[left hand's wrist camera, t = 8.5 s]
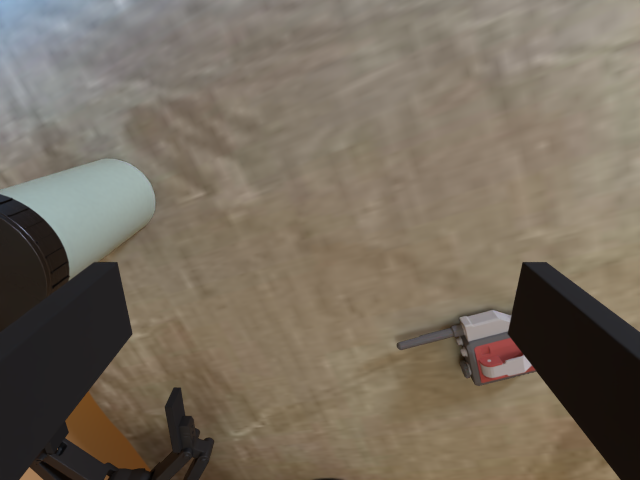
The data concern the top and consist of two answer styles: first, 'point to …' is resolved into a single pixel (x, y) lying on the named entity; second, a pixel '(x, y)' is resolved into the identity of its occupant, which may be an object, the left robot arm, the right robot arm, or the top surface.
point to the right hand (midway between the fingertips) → (108, 396)
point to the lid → (27, 260)
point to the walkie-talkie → (482, 347)
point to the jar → (90, 207)
